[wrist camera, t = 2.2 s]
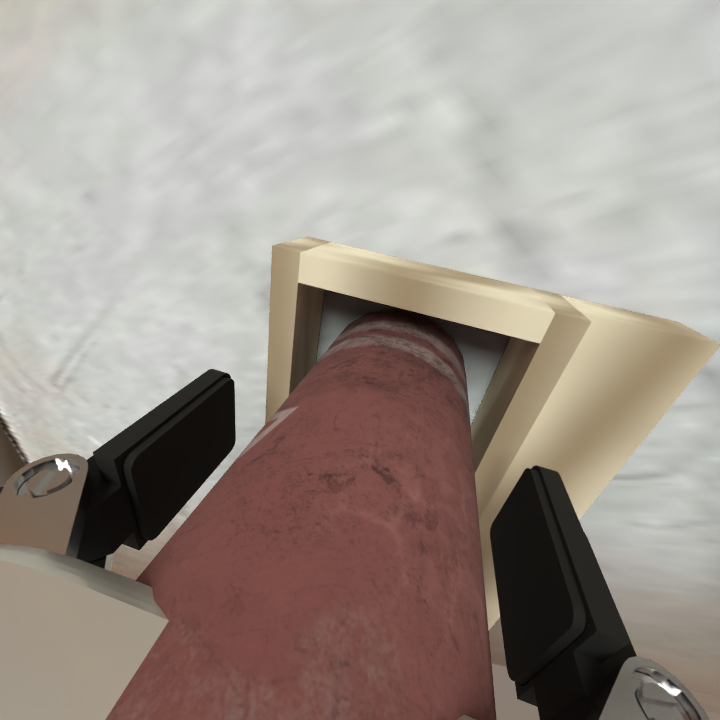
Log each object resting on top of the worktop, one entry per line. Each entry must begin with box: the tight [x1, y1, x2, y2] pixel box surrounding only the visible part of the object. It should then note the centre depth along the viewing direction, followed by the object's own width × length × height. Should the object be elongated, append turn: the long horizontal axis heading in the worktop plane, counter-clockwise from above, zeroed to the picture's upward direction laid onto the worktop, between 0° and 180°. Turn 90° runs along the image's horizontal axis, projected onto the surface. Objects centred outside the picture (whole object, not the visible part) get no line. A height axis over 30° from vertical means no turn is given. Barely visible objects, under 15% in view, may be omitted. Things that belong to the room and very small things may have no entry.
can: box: [105, 310, 496, 720], centre depth 9 cm, size 6×6×14 cm
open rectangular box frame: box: [265, 237, 720, 630], centre depth 16 cm, size 14×23×4 cm, turn 170°
